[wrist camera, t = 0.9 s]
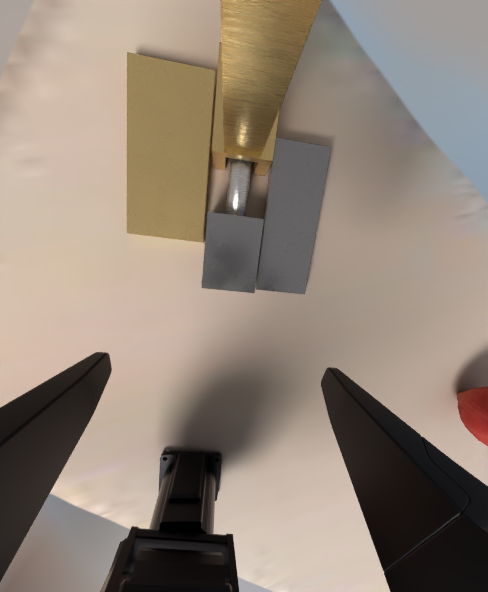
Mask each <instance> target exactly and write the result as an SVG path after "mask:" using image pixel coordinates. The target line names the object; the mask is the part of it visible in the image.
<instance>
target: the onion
mask: <svg viewBox="0 0 488 592" xmlns="http://www.w3.org/2000/svg"><path fill="white" fill-rule="evenodd" d="M457 399H458V409H459V414H460V418H461V420H462V422H463V423H464V425H465V427H466V428H467V429H468V430H469V431H470V432H471V433H472V434H473V435H474V436H475V437H476V438H477V439H478V440H479V441H481V442H482V443H484V444H485V445H487V446H488V387H481V388H474V389H470V390H467V391H461V392H460V393H459V394H458V395H457Z"/></svg>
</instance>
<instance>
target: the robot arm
mask: <svg viewBox="0 0 488 592" xmlns="http://www.w3.org/2000/svg"><path fill="white" fill-rule="evenodd" d="M111 370H112V368H111V362H110V356H109V354H108V353H105V352H96V353H94V354H92V355H90V356H89V357H87V358H85V359H84V360H82V361H80V362H78V363H77V364H75V365H73V366H71V367H70V368H68V369H66V370H64V371H63V372H61V373H59V374H58V375H56V376H54V377H52V378H51V379H49V380H47V381H45V382H44V383H42V384H40V385H39V386H37V387H35V388H33V389H32V390H30V391H28V392H26V393H25V394H23V395H21V396H20V397H18V398H16V399H14V400H13V401H11V402H9V403H7V404H6V405H4V406H2V407H1V408H0V581H1V580H2V578H3V576H4V574H5V572H6V571H7V569H8V567H9V565H10V563H11V562H12V560H13V558H14V556H15V554H16V553H17V551H18V549H19V547H20V545H21V544H22V542H23V540H24V538H25V536H26V534H27V533H28V531H29V529H30V527H31V526H32V524H33V522H34V520H35V518H36V517H37V515H38V513H39V511H40V509H41V508H42V506H43V504H44V502H45V500H46V498H47V497H48V495H49V493H50V491H51V490H52V488H53V486H54V484H55V482H56V481H57V479H58V477H59V475H60V473H61V472H62V470H63V468H64V466H65V464H66V463H67V461H68V459H69V457H70V455H71V454H72V452H73V450H74V448H75V446H76V445H77V443H78V441H79V439H80V437H81V436H82V434H83V432H84V430H85V428H86V427H87V425H88V423H89V421H90V419H91V417H92V415H93V414H94V411H95V409H96V407H97V405H98V402H99V400H100V398H101V395H102V393H103V391H104V388H105V386H106V384H107V381H108V379H109V377H110V374H111ZM321 387H322V391H323V395H324V399H325V403H326V407H327V411H328V415H329V419H330V422H331V425H332V428H333V431H334V434H335V436H336V439H337V442H338V445H339V448H340V451H341V453H342V456H343V459H344V462H345V465H346V467H347V470H348V473H349V476H350V479H351V481H352V484H353V487H354V490H355V493H356V495H357V498H358V501H359V504H360V507H361V510H362V512H363V515H364V518H365V521H366V524H367V526H368V529H369V532H370V535H371V538H372V540H373V543H374V546H375V549H376V552H377V554H378V557H379V560H380V563H381V566H382V569H383V571H384V575H385V577H386V580H387V583H388V586H389V589H390V592H488V486H487V485H485V484H484V483H483V482H481V481H480V480H478V479H477V478H476V477H474V476H473V475H472V474H470V473H469V472H468V471H466V470H465V469H464V468H462V467H461V466H459V465H458V464H457V463H455V462H454V461H453V460H451V459H450V458H449V457H448V456H446V455H445V454H444V453H442V452H441V451H440V450H439V449H437V448H436V447H435V446H434V445H432V444H431V443H430V442H429V441H427V440H426V439H425V438H424V437H421V435H420V434H419V433H417V432H416V431H415V430H414V429H412V428H411V427H410V426H409V425H407V424H406V423H405V422H404V421H402V420H401V419H400V418H399V417H397V416H396V415H395V414H394V413H392V412H391V411H390V410H389V409H387V408H386V407H385V406H384V405H382V404H381V403H380V402H379V401H377V400H376V399H375V398H374V397H372V396H371V395H370V394H369V393H367V392H366V391H365V390H364V389H363V388H361V387H360V386H359V385H358V384H356V383H355V382H354V381H353V380H351V379H350V378H349V377H348V376H346V375H345V374H344V373H343V372H341V371H340V370H339V369H337V368H327V369H326V371H325V373H324V376H323V378H322V381H321ZM221 461H222V455H221V454H220V453H210V452H163V453H162V455H161V458H160V475H159V495H158V499H157V502H156V506H155V510H154V513H153V517H152V521H151V524H150V528H149V529H140V528H138V527H134V526H132V527H131V530H130V533H129V535H128V537H127V538H126V539H125V540H123V541H122V542H120V544H119V547H118V550H117V552H116V555H115V558H114V561H113V564H112V566H111V569H110V571H109V574H108V576H107V578H106V580H105V582H104V585H103V587H102V589H101V591H100V592H239V586H238V577H237V569H236V560H235V551H234V542H233V534H226V535H219V534H213V529H214V507H215V501H216V500H217V495H218V486H219V478H220V469H221Z"/></svg>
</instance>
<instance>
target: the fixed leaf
mask: <svg viewBox="0 0 488 592" xmlns="http://www.w3.org/2000/svg"><path fill="white" fill-rule="evenodd" d="M330 152H331V147H327V146H321V145H316V144H310V143H304V142H299V141H293V140H287V139H282V138H276V139H275V147H274V154H273V161H272V163H271V166H270V174H269V181H268V189H267V197H266V204H265V212H264V219H258V218H251V217H246V208H247V199H248V190H249V181H250V172H251V163H252V162H251V161H245V160H239V159H233V158H231V162H230V173H229V184H228V194H227V205H226V214H222V213H214V212H208V213H207V226H206V239H205V252H204V265H203V278H202V288H208V289H218V290H228V291H238V292H248V293H254V291H255V288H256V289H258V290H268V291H278V292H288V293H297V294H305V290H306V284H307V279H308V273H309V268H310V262H311V257H312V251H313V246H314V240H315V235H316V229H317V224H318V218H319V213H320V207H321V202H322V196H323V191H324V185H325V180H326V174H327V169H328V163H329V158H330Z"/></svg>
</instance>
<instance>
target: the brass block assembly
mask: <svg viewBox="0 0 488 592" xmlns="http://www.w3.org/2000/svg"><path fill="white" fill-rule="evenodd" d="M321 1H322V0H221V35H222V42H220V47H219V60H218V73H217V86H216V99H215V113H214V126H213V139H212V157H213V164H214V168H217V169H223V170H225V166H226V157H227V158H233V159H239V160H245V161H251V162H255V169H254V174H255V175H261V176H265V174H266V172H267V170H268V169H269V167H270V165H271V163H272V161H273V154H274V147H275V139H276V132H277V124H278V116H279V109H280V106H281V104H282V101H283V99H284V96H285V93H286V91H287V88H288V86H289V83H290V81H291V78H292V75H293V73H294V70H295V68H296V65H297V62H298V60H299V57H300V55H301V52H302V50H303V47H304V44H305V42H306V39H307V37H308V34H309V32H310V29H311V26H312V24H313V21H314V19H315V16H316V14H317V11H318V8H319V6H320V3H321ZM215 85H216V75H215V70H212V69H207V68H202V67H197V66H192V65H187V64H183V63H178V62H173V61H168V60H163V59H158V58H153V57H148V56H143V55H138V54H134V53H129V52H127V233H130V234H138V235H147V236H155V237H163V238H171V239H180V240H188V241H196V242H204V230H205V217H206V204H207V191H208V178H209V164H210V151H211V138H212V125H213V111H214V98H215Z"/></svg>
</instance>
